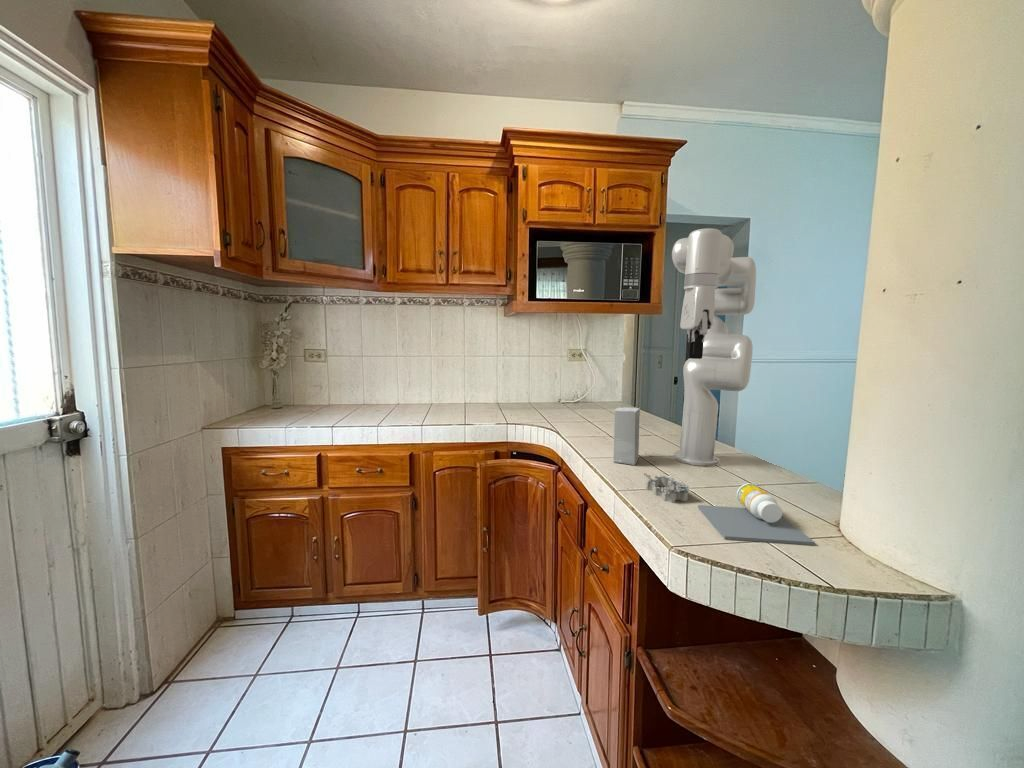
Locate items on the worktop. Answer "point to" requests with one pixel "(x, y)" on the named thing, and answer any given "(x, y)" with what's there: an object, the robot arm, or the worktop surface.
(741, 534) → the mat
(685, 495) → the egg carton
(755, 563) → the worktop surface
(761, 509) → the supplement bottle
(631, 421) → the skincare box
